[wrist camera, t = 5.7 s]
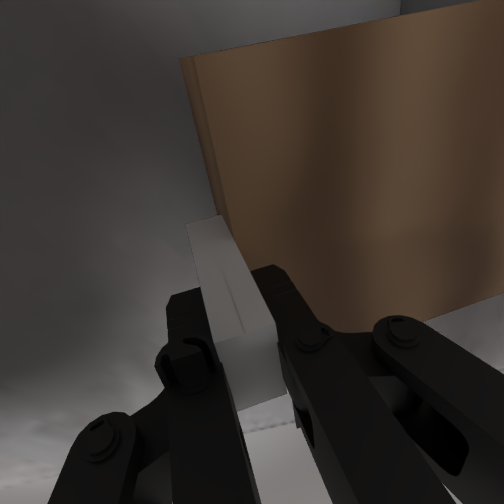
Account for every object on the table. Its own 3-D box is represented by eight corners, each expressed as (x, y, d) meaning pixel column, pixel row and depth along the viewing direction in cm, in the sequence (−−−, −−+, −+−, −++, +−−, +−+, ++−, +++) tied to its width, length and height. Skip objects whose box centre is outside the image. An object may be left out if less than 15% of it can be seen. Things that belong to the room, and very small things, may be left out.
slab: (243, 321, 18) (265, 378, 15) (179, 58, 11) (193, 57, 8) (531, 226, 21) (602, 256, 18) (620, -28, 14) (762, -55, 11)
